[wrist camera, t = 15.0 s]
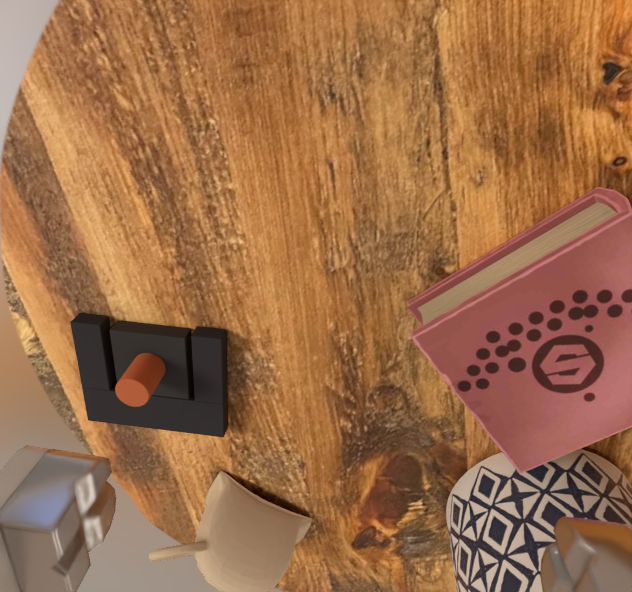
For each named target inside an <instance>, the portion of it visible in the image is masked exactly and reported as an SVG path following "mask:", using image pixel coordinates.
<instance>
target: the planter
mask: <svg viewBox="0 0 632 592" xmlns="http://www.w3.org/2000/svg"><path fill="white" fill-rule="evenodd" d="M563 516H565V517H574V518H582V519H591V520H599V521H608V522H616V523H620V524H629V525H632V486H631V485H630V483H629V481H628V479H627V478H626V476H625V475H624V474H623V473H622V472H621V471H620V470H619V469H618V468H617V467H616V466H614V465H613V464H612V463H610V462H609V461H608V460H606V459H604V458H602V457H600V456H598V455H597V454H594V453H591V452H589V451H586V450H583V449H578V450H576V451H573V452H571V453H569V454H566V455H564V456H562V457H559V458H557V459H554V460H552V461H550V462H547V463H545V464H542V465H540V466H538V467H535V468H533V469H531V470H528V471H526V472H523V473H521V474H519V472H518V471H517V470H516V469H515V467H514V466H513V465H512V464H511V462H510V461H509V460H508V459H507V457H506V456H505V455H504V454H503V452H500V453H498V454H495V455H493V456H490V457H488V458H487V459H485V460H483V461H481V462H479V463H478V464H476V465H475V466H473V467H472V468H471V469H469V470H468V471H467V472H466V473H465V474H464V475H463V476H462V477H461V478H460V479H459V480H458V482H457V483H456V484H455V486H454V487H453V489H452V491H451V493H450V496H449V498H448V502H447V507H446V519H447V526H448V534H449V540H450V547H451V554H452V561H453V567H454V574H455V581H456V588H457V592H543V590H542V584H541V577H540V571H541V559H542V556H543V553H544V551H545V548H546V546H548V545H550V544H552V543H553V542H555V541H557V540H556V537H555V534H554V531H553V529H554V527H555V525H556V523H557V521H558V520H559V519H560V518H562V517H563Z"/></svg>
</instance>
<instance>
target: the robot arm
mask: <svg viewBox="0 0 632 592" xmlns="http://www.w3.org/2000/svg"><path fill="white" fill-rule="evenodd" d="M111 472H112V471H111V466H110V462H109V459H108V458H105V457H99V456H93V455H87V454H80V453H74V452H68V451H61V450H55V449H46V448H40V447H33V446H25V447H23V448H21V449H20V450H18V451H17V452H16V453H15V454H14V455H13V456H12V458H11V459H10V460H9V461H8V462H7V463H6V465H5V466H4V467H3V468H2V469H1V470H0V592H76V591H77V589H78V588H79V586H80V584H81V582H82V580H83V578H84V576H85V575H86V573H87V571H88V569H89V567H90V559H89V553H88V552H89V551H91V550H92V549H94V548H95V547H96V546H98V545H99V544H101V543H102V542H103V541H104V539H105V536H106V534H107V533H108V531H109V529H110V526H111V523H112V520H113V516H114V513H115V505H116V504H115V503H116V496H115V489H114V488H113V487H112V486H111V485H110V484H109V483H108V482H107V479H108V477H109V476H110V474H111ZM553 531H554V534H555V537H556V540H557V541H555V542H553V543H552V544H550V545H548V546H546V548H545V551H544V553H543V556H542V559H541V571H540V577H541V584H542V590H543V592H632V525H629V524H620V523H616V522H608V521H599V520H591V519H582V518H574V517H565V516H563V517H562V518H560V519H559V520H558V521H557V523H556V525H555V527H554V529H553Z"/></svg>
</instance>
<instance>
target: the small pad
mask: <svg viewBox="0 0 632 592" xmlns="http://www.w3.org/2000/svg"><path fill="white" fill-rule="evenodd" d="M110 337H111V344H112V351H113V357H114V364H115V371H116V378H117V384H116V387H115V392H116V395H117V397H118V398H119V399H120V400H121V401H122V402H123V403H125V404H127V405H129V406H133V407H139V406H143V405H144V404H146V403H147V402H148V400H149V399H150V397H151V395H157V396H165V397H173V398H181V399H189V397H190V395H191V393H192V391H193V389H194V378H193V360H192V342H191V329H189V328H180V327H171V326H162V325H153V324H145V323H136V322H127V321H117V322H116V323H115V324H114V325H113V327H112V328H111V329H110Z"/></svg>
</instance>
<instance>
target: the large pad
mask: <svg viewBox="0 0 632 592" xmlns="http://www.w3.org/2000/svg"><path fill="white" fill-rule="evenodd" d="M71 328H72V333H73V339H74V344H75V350H76V355H77V360H78V366H79V371H80V377H81V382H82V389H83V394H84V400H85V405H86V411H87V416H88V420H91V421H98V422H106V423H114V424H122V425H130V426H138V427H146V428H154V429H162V430H170V431H178V432H186V433H194V434H202V435H210V436H218V437H224V435H225V432H226V429H227V427H228V398H227V337H226V330H225V329H216V328H207V327H196V329H195V331H194V333H193V334H192V336H191V339H192V358H193V376H194V389H193V391H192V393H191V395H190V397H189V399H181V398H173V397H165V396H157V395H151V397H150V399H149V400H148V402H147V403H146V404H144V405H143V406H139V407H133V406H129V405H127V404H125V403H123V402H122V401H121V400H120V399H119V398H118V397H117V395H116V392H115V387H116V384H117V378H116V371H115V364H114V357H113V351H112V344H111V337H110V325H109V318H108V316H102V315H93V314H84V313H79V314H78V315H77V316H76V317H75V318H74V319H73V320H72V321H71Z"/></svg>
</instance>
